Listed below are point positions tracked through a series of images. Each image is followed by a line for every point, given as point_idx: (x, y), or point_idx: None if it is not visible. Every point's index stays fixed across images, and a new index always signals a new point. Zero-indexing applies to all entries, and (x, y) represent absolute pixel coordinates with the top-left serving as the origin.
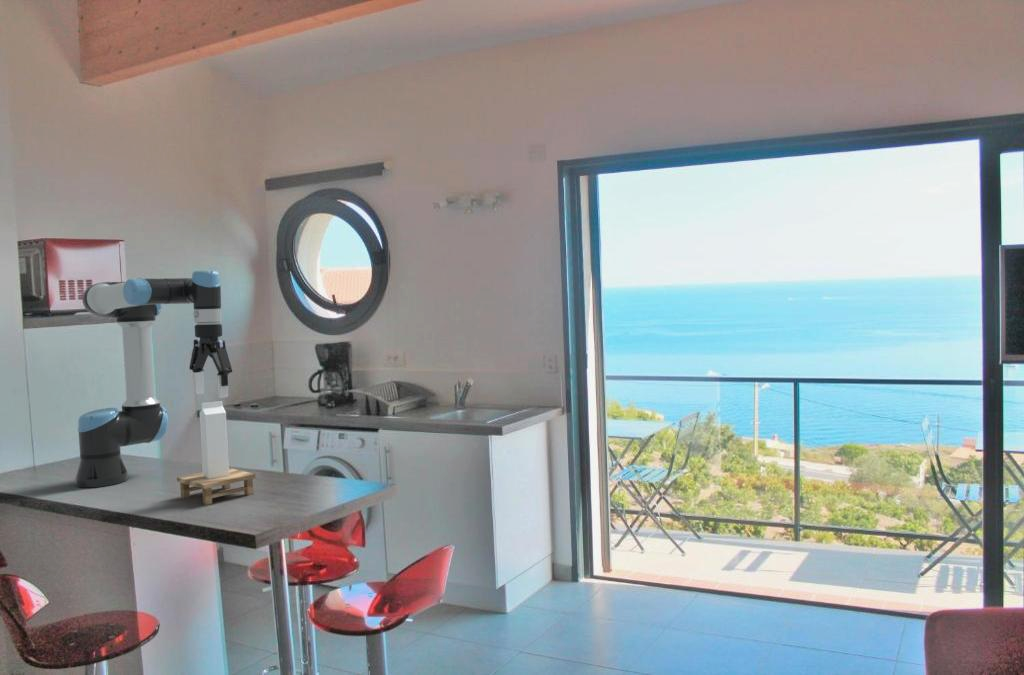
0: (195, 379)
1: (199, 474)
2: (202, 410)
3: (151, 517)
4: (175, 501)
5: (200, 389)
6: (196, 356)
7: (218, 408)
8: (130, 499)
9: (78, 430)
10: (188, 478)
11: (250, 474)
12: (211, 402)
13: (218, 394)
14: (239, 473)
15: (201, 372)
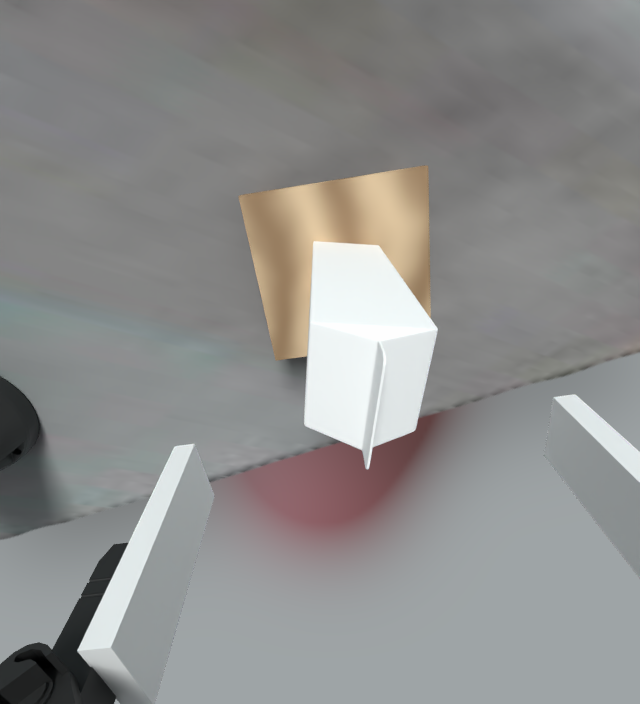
0: (177, 617)
1: (284, 304)
2: (339, 431)
3: None
4: None
5: (195, 498)
6: None
7: (394, 367)
8: (218, 411)
9: None
10: None
11: (421, 182)
12: (376, 422)
13: (561, 474)
14: (373, 205)
15: (125, 660)
